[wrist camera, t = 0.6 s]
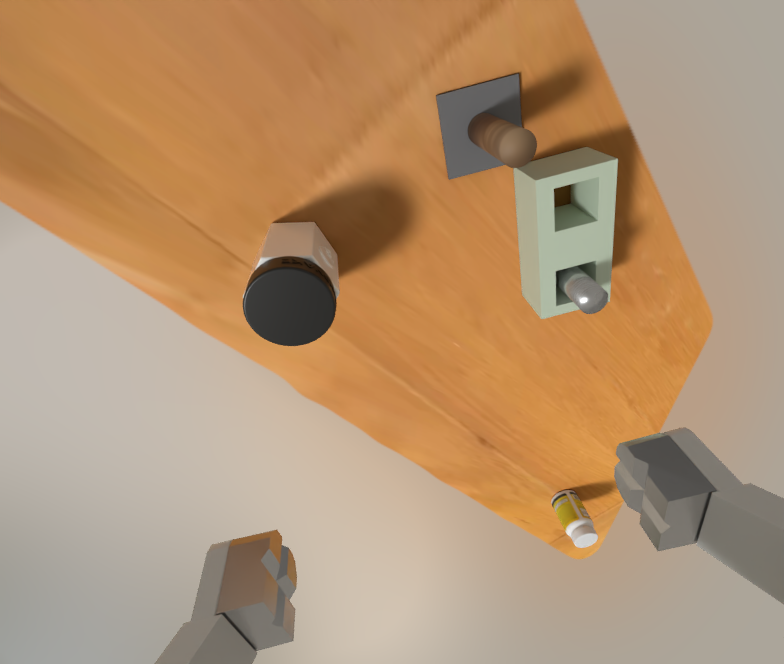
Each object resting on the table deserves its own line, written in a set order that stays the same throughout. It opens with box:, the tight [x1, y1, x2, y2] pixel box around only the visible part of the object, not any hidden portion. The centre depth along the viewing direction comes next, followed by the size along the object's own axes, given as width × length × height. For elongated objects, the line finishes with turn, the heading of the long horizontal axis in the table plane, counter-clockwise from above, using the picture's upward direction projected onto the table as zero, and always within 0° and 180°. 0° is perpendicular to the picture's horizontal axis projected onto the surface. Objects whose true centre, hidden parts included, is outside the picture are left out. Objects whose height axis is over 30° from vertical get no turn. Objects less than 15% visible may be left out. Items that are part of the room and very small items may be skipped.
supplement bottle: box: [551, 490, 598, 548], centre depth 77 cm, size 5×5×8 cm
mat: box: [436, 74, 522, 180], centre depth 45 cm, size 8×8×1 cm
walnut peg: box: [468, 113, 537, 168], centre depth 40 cm, size 3×3×10 cm
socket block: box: [513, 147, 618, 319], centre depth 49 cm, size 16×8×6 cm, turn 13°
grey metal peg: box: [556, 266, 608, 314], centre depth 50 cm, size 3×3×10 cm
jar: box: [243, 222, 340, 346], centre depth 45 cm, size 9×8×12 cm
